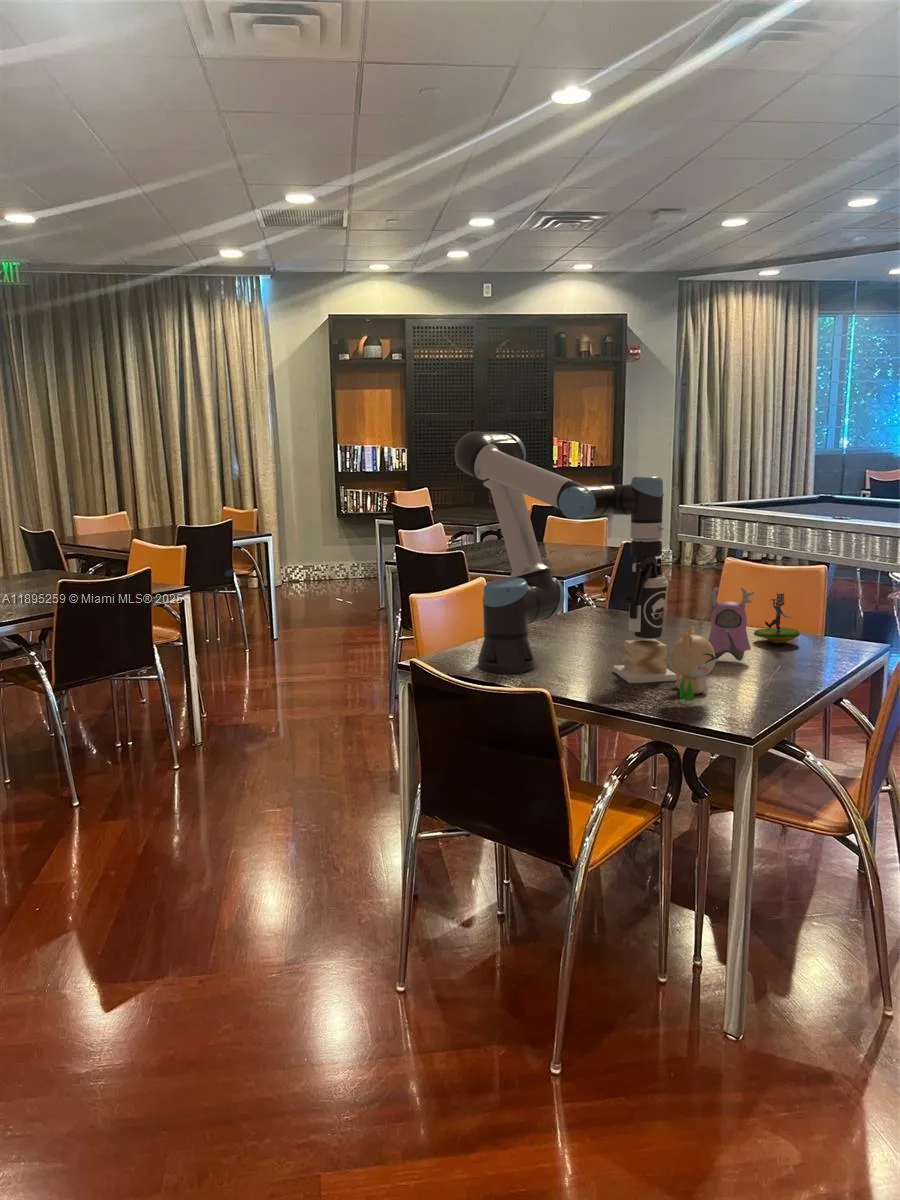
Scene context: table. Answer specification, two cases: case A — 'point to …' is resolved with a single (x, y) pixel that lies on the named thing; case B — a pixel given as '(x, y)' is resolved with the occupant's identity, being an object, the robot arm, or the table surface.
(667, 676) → the grey tile
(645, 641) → the maple brick
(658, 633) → the coffee cup
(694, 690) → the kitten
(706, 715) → the table surface
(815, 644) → the table surface
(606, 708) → the table surface
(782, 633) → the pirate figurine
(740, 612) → the toy character
